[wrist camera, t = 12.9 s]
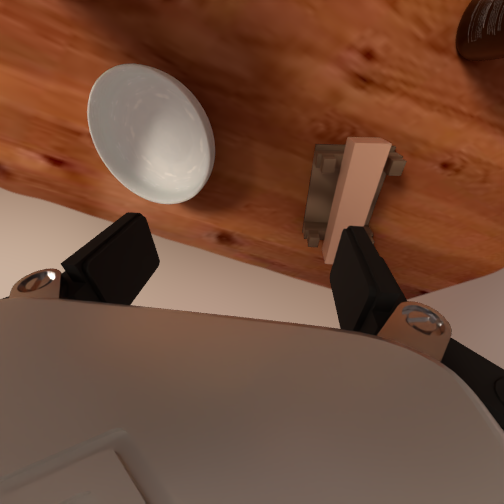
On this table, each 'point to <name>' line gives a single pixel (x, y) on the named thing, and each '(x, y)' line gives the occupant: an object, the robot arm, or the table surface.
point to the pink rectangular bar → (354, 188)
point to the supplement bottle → (482, 31)
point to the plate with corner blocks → (325, 186)
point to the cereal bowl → (151, 133)
